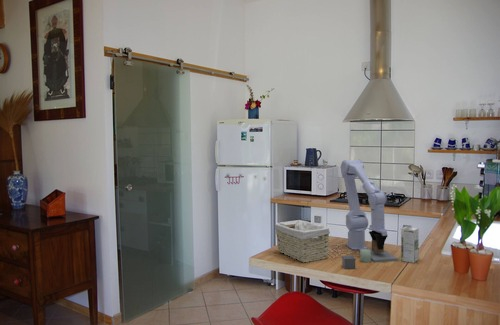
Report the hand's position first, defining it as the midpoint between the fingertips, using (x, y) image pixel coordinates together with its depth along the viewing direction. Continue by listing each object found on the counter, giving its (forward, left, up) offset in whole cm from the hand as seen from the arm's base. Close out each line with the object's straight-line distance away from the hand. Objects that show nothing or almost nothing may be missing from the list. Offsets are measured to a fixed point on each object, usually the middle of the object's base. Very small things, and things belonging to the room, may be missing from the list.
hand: (378, 247), depth 181 cm
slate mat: (-1, 0, -4) cm, 4 cm away
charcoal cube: (+13, -19, -4) cm, 23 cm away
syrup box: (+9, +11, -4) cm, 14 cm away
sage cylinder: (+6, -8, -4) cm, 11 cm away
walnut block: (0, 0, -2) cm, 2 cm away
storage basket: (-9, -34, -4) cm, 35 cm away
